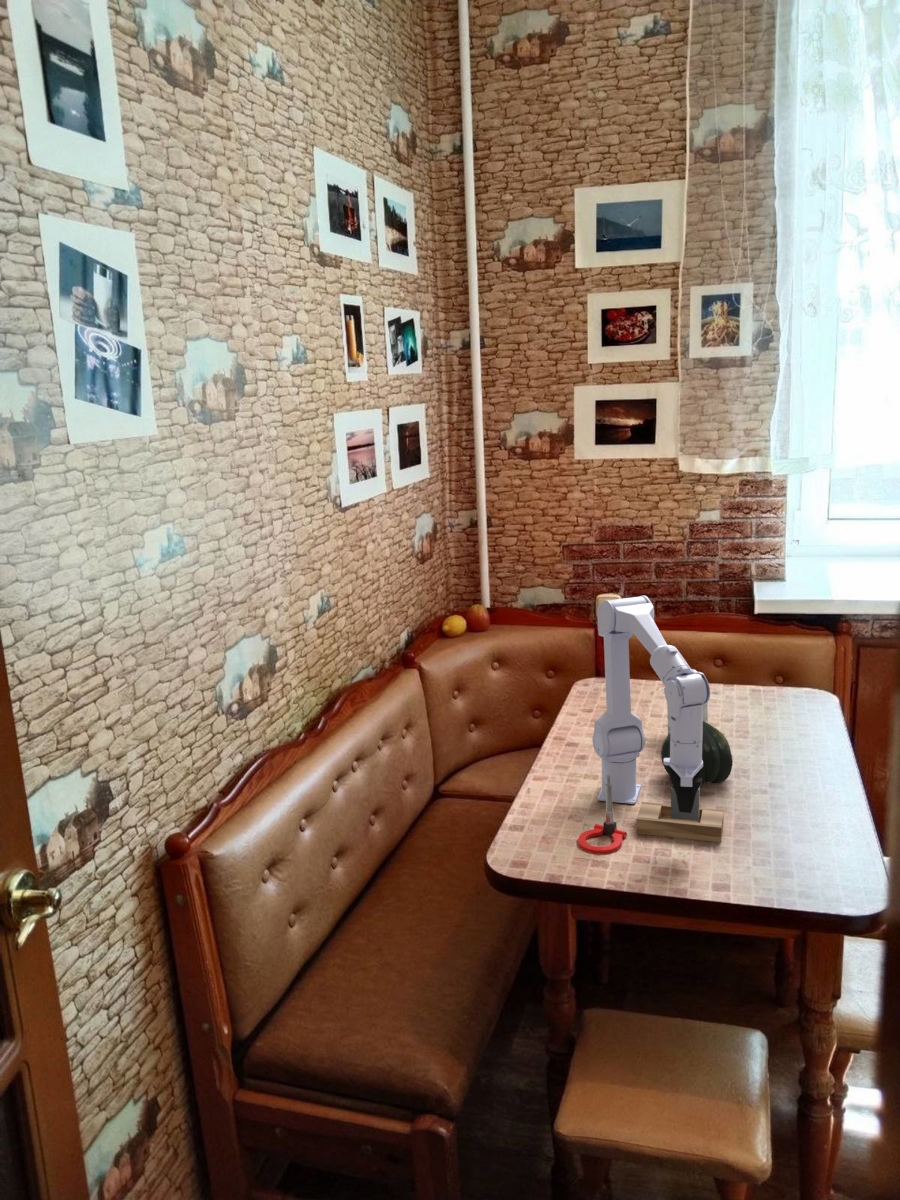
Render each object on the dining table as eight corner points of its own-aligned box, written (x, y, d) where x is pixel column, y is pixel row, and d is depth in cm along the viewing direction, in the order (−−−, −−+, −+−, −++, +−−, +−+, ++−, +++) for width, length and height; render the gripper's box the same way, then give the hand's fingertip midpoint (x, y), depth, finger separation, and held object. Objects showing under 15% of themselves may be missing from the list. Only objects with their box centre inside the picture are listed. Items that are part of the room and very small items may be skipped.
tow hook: (609, 860, 179) (631, 838, 186) (607, 797, 176) (629, 777, 183) (570, 849, 184) (593, 828, 191) (566, 787, 181) (590, 768, 188)
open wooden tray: (641, 815, 195) (641, 801, 195) (723, 823, 190) (723, 809, 189) (636, 833, 188) (636, 818, 187) (721, 842, 183) (721, 827, 182)
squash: (735, 776, 199) (730, 708, 206) (661, 775, 202) (659, 709, 209) (732, 796, 211) (727, 732, 218) (662, 796, 214) (660, 732, 222)
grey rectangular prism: (671, 811, 181) (672, 781, 179) (699, 813, 179) (699, 783, 178) (670, 818, 178) (671, 788, 177) (698, 820, 176) (699, 790, 175)
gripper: (664, 723, 183) (663, 789, 186) (663, 752, 169) (662, 823, 172) (702, 724, 181) (701, 791, 184) (704, 754, 168) (703, 825, 171)
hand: (685, 807), depth 178 cm, fingers closed on grey rectangular prism, 3 cm apart
